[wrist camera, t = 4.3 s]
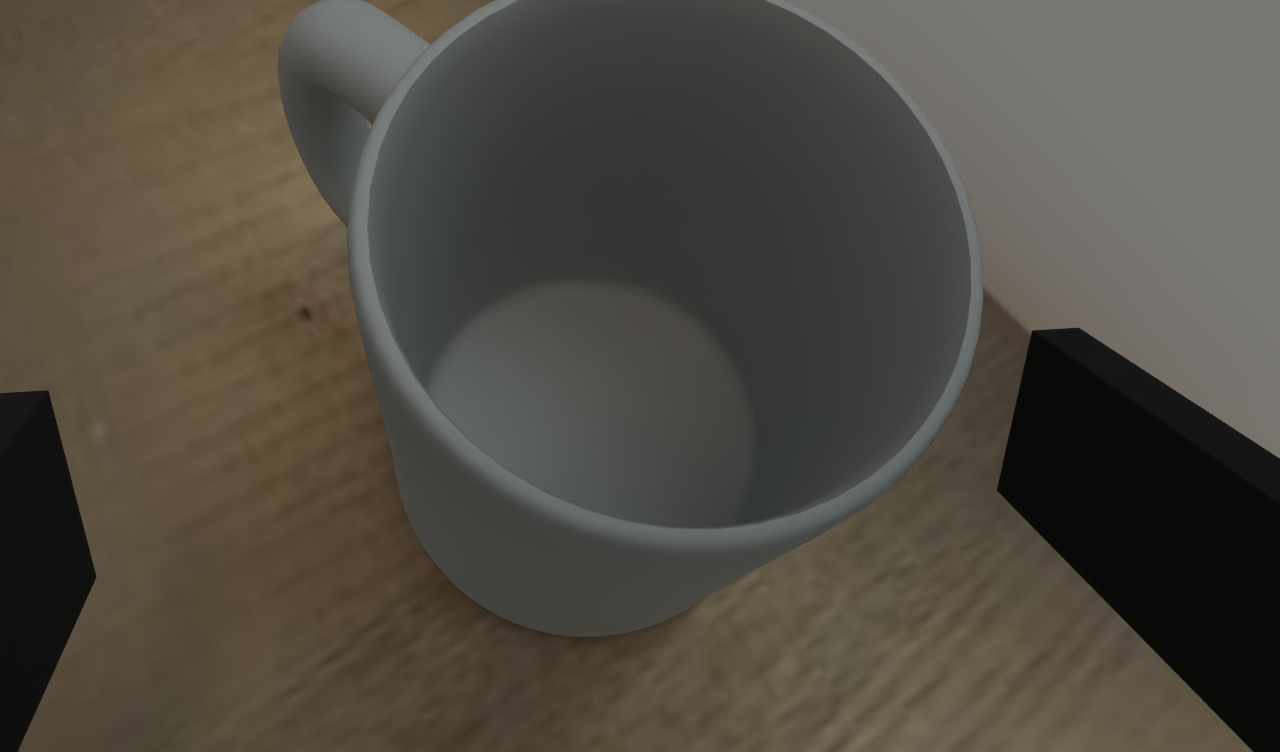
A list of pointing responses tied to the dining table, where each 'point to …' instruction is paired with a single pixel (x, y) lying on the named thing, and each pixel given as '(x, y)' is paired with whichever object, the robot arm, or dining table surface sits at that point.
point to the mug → (635, 286)
